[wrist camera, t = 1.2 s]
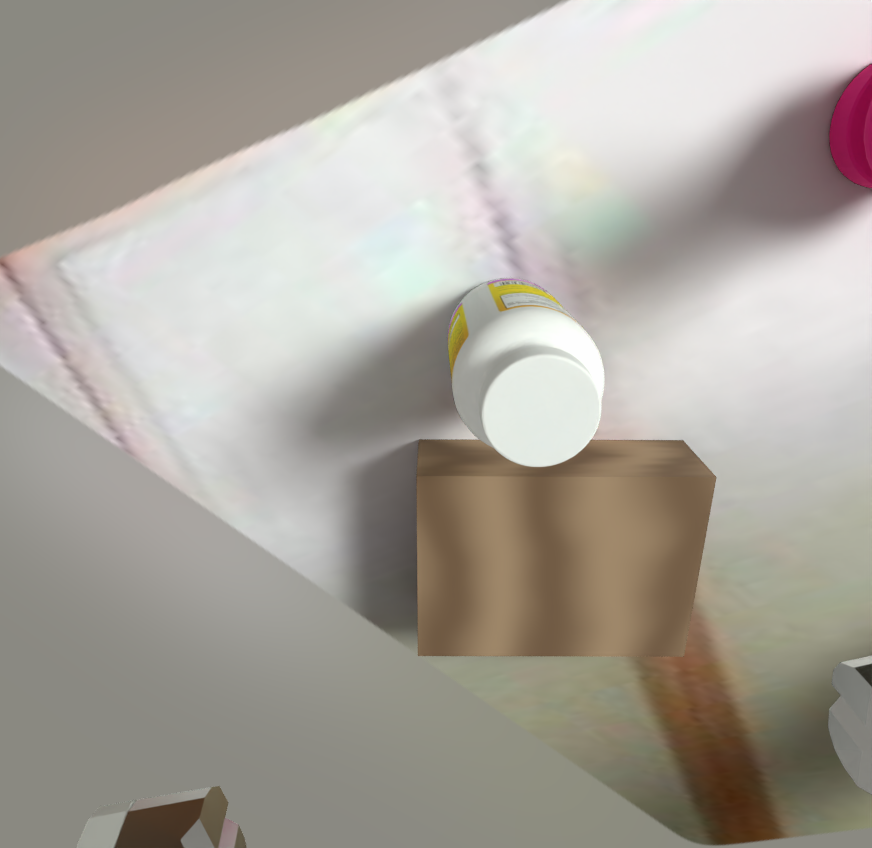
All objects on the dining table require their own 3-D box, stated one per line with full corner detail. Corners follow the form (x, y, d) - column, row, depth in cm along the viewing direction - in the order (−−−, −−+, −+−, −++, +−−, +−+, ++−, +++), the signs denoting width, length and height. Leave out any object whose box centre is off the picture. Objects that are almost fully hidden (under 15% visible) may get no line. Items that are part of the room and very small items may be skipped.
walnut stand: (682, 440, 39) (716, 477, 35) (657, 604, 44) (683, 656, 39) (418, 439, 39) (416, 476, 34) (419, 603, 44) (417, 655, 39)
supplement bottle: (485, 410, 38) (508, 519, 27) (424, 317, 36) (419, 389, 24) (585, 351, 37) (656, 437, 25) (528, 251, 35) (576, 294, 23)
